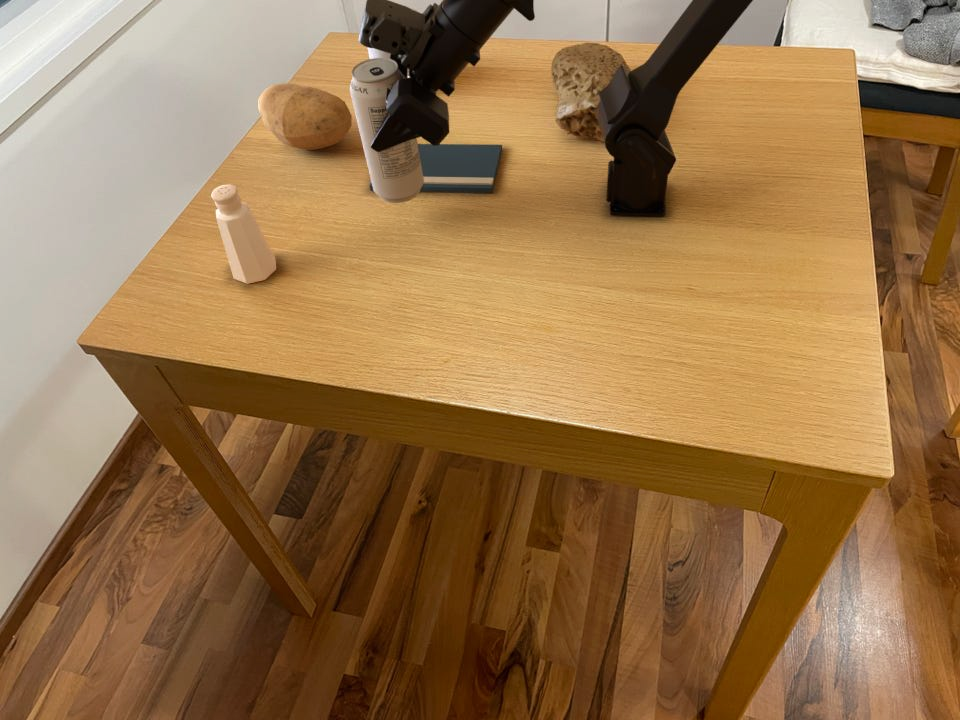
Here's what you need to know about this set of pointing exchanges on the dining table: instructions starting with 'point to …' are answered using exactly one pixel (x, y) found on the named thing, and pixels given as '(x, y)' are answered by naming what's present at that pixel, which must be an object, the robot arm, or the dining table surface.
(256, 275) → the pepper shaker
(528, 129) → the dining table surface
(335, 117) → the potato
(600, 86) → the sponge
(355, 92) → the energy drink can
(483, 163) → the book
